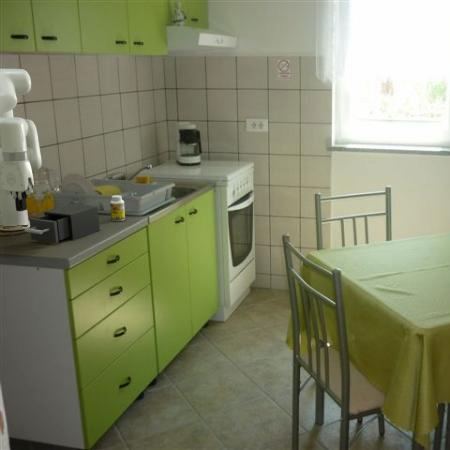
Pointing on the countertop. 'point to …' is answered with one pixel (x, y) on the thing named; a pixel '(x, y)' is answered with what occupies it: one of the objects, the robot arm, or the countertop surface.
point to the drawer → (49, 228)
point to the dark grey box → (78, 219)
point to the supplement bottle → (117, 208)
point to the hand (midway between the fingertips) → (21, 210)
